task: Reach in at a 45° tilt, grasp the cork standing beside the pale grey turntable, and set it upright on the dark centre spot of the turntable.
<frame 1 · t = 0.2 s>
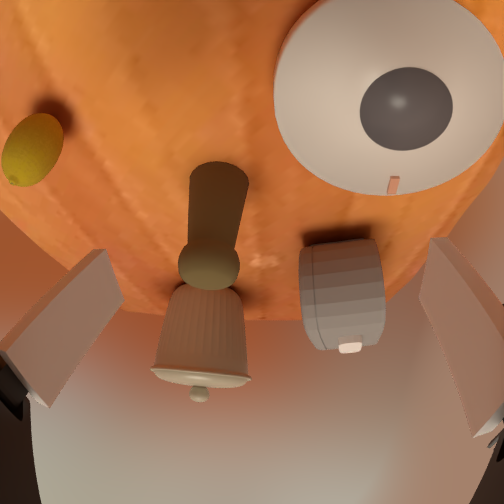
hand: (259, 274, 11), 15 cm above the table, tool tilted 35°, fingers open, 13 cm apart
alarm clock: (338, 259, 43), on the table
lemon: (54, 118, 20), on the table
cork: (219, 181, 29), on the table
turntable: (404, 104, 16), point 3 cm above the table, hinge at 0.0°
canister: (207, 290, 56), on the table
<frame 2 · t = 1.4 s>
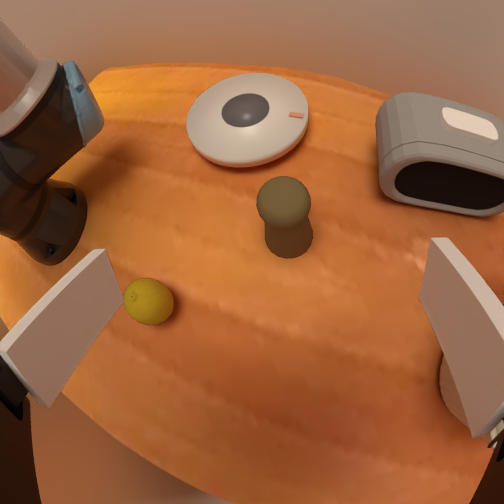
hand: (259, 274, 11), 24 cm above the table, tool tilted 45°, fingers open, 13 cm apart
alarm clock: (434, 184, 35), on the table
lemon: (164, 305, 37), on the table
cork: (288, 235, 37), on the table
turntable: (246, 113, 39), point 3 cm above the table, hinge at 0.0°
canister: (473, 366, 27), on the table
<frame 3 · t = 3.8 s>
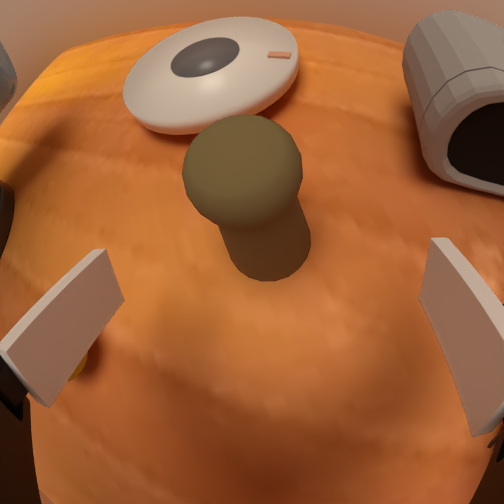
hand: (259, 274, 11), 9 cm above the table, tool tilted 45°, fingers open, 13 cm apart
alarm clock: (488, 160, 20), on the table
cork: (269, 241, 21), on the table
turntable: (206, 62, 24), point 3 cm above the table, hinge at 0.0°
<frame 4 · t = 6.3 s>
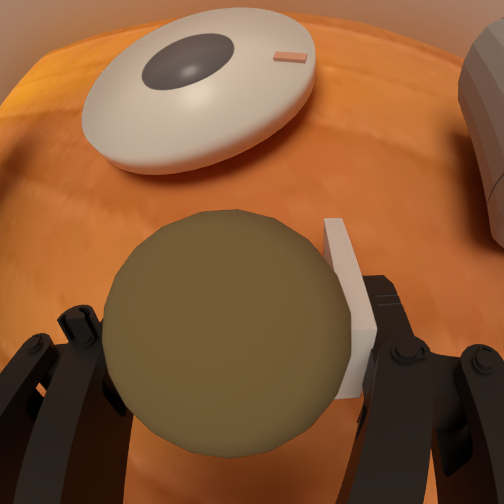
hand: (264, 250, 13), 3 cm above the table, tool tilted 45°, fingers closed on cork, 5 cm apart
cork: (272, 338, 15), on the table, touching gripper
turntable: (190, 67, 18), point 3 cm above the table, hinge at 0.0°
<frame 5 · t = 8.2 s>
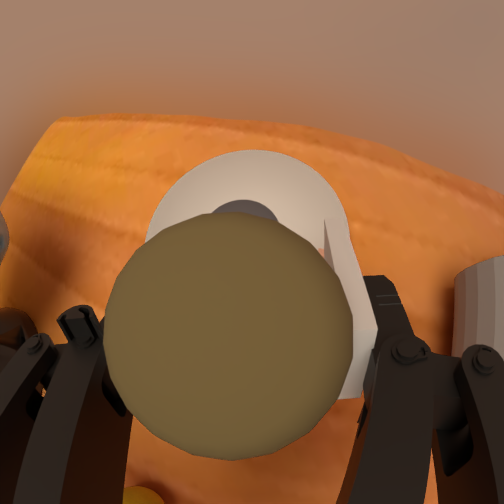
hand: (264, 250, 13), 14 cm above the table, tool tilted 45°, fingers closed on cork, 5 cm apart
lemon: (156, 495, 22), on the table
cork: (273, 339, 15), point 11 cm above the table, touching gripper
turntable: (241, 241, 25), point 3 cm above the table, hinge at 0.0°
when the fingers open (8 cm above the table, at t = 10.5 s): cork stays where it is, resting on turntable.
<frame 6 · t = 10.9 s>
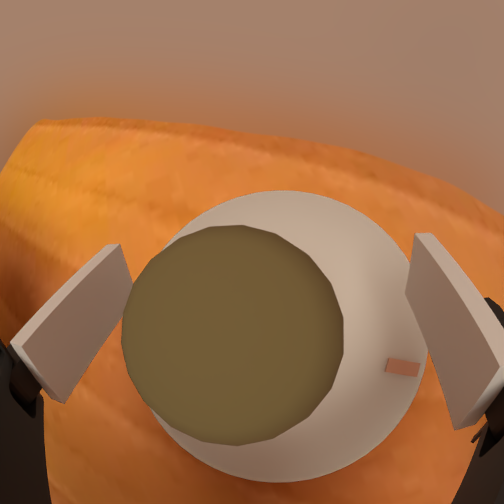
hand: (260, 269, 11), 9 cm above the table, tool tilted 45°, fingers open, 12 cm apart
cork: (272, 339, 16), point 4 cm above the table, touching turntable
turntable: (275, 339, 16), point 3 cm above the table, hinge at 0.0°, touching cork
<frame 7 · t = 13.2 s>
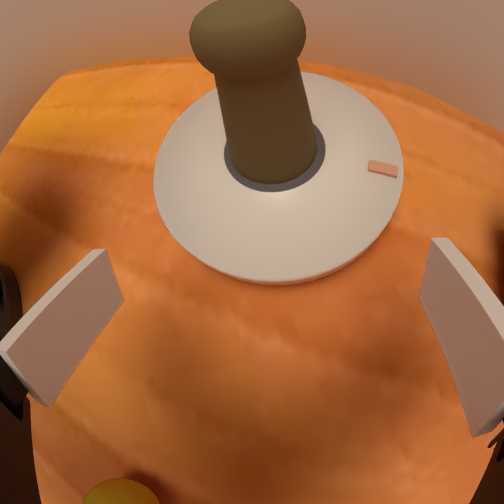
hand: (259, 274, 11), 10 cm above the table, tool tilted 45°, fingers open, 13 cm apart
lemon: (148, 492, 17), on the table
cork: (273, 148, 19), point 4 cm above the table, touching turntable
turntable: (275, 155, 20), point 3 cm above the table, hinge at 0.0°, touching cork
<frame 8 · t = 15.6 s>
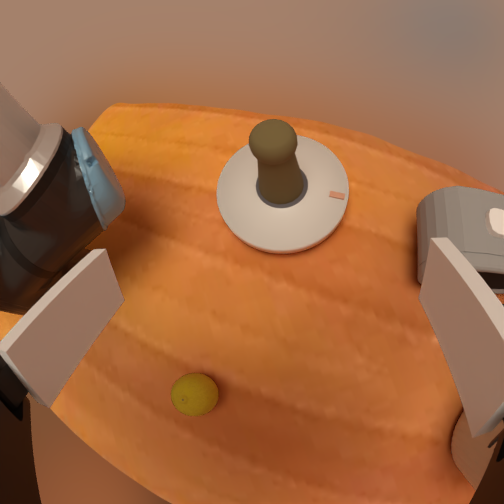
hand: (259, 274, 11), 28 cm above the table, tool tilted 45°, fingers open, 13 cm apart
alarm clock: (463, 261, 35), on the table
lemon: (206, 389, 36), on the table
cork: (281, 185, 38), point 4 cm above the table, touching turntable
turntable: (282, 188, 39), point 3 cm above the table, hinge at 0.0°, touching cork
canister: (480, 426, 26), on the table
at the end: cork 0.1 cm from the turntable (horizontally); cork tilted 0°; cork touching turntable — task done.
